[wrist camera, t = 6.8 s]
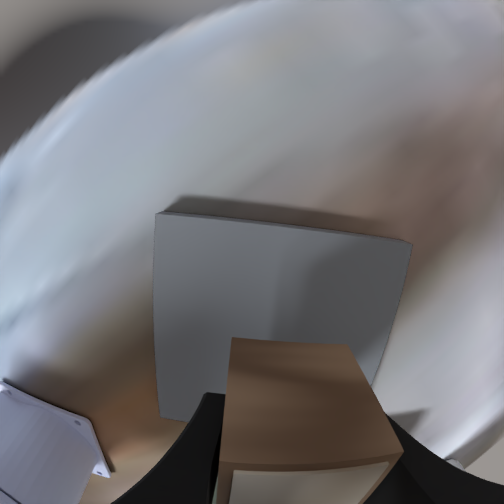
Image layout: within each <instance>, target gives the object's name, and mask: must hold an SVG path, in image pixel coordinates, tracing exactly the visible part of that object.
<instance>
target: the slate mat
mask: <svg viewBox="0 0 504 504" xmlns="http://www.w3.org/2000/svg"><path fill="white" fill-rule="evenodd" d="M412 246H413V245H412V244H410V243H408V242H405V241H403V240H398V239H391V238H385V237H378V236H371V235H364V234H357V233H350V232H343V231H335V230H328V229H320V228H313V227H305V226H297V225H289V224H281V223H272V222H264V221H255V220H246V219H237V218H227V217H218V216H208V215H197V214H187V213H176V212H165V211H162V212H159V213H157V214H155V231H154V258H153V323H154V349H155V366H156V380H157V392H158V402H159V412H160V417H161V418H166V419H172V420H178V421H184V422H189V421H190V420H191V418H192V416H193V415H194V413H195V411H196V410H197V408H198V406H199V404H200V402H201V399H202V397H203V394H205V393H206V392H211V393H220V394H226V387H227V377H228V367H229V358H230V348H231V339H232V337H237V338H247V339H258V340H271V341H284V342H301V343H322V344H348V346H349V348H350V350H351V351H352V353H353V355H354V357H355V359H356V361H357V362H358V364H359V366H360V368H361V370H362V371H363V373H364V375H365V377H366V379H367V381H368V383H369V384H370V386H371V384H372V381H373V379H374V376H375V374H376V371H377V368H378V366H379V363H380V360H381V358H382V355H383V352H384V349H385V346H386V343H387V340H388V337H389V334H390V331H391V328H392V325H393V321H394V318H395V315H396V311H397V308H398V304H399V301H400V297H401V293H402V290H403V286H404V282H405V278H406V274H407V269H408V265H409V260H410V256H411V251H412Z"/></svg>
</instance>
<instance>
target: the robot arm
mask: <svg viewBox="0 0 504 504" xmlns="http://www.w3.org/2000/svg"><path fill="white" fill-rule="evenodd" d="M0 391H1V392H0V504H79V501H80V499H81V497H82V494H83V492H84V490H85V487H86V485H87V483H88V481H89V478H90V476H91V474H92V473H95V474H98V475H100V476H103V477H106V478H110V477H111V472H110V470H109V468H108V465H107V463H106V461H105V458H104V456H103V453H102V451H101V448H100V446H99V443H98V440H97V438H96V435H95V432H94V429H93V426H92V424H91V422H90V421H89V420H88V419H87V418H85V417H82V416H79V415H76V414H74V413H71V412H68V411H66V410H63V409H60V408H58V407H55V406H53V405H51V404H48V403H46V402H43V401H41V400H39V399H37V398H34V397H32V396H30V395H28V394H26V393H24V392H22V391H20V390H18V389H16V388H14V387H12V386H10V385H8V384H6V383H4V382H2V381H0ZM225 397H226V394H220V393H211V392H206V393H205V394H203V397H202V399H201V402H200V404H199V406H198V408H197V410H196V411H195V413H194V415H193V416H192V418H191V420H190V421H189V423H188V424H187V426H186V427H185V429H184V430H183V432H182V433H181V435H180V436H179V437H178V439H177V440H176V441H175V443H174V444H173V445H172V446H171V448H170V449H169V450H168V451H167V452H166V454H165V455H164V456H163V457H162V458H161V460H160V461H159V462H158V463H157V464H156V465H155V466H154V467H153V468H152V469H151V470H150V471H149V472H148V473H147V474H146V475H145V476H144V477H143V478H142V479H141V480H140V481H139V482H137V483H136V484H135V485H134V486H133V487H132V488H130V489H129V490H128V491H127V492H126V493H124V494H123V495H122V496H120V497H119V498H118V499H116V500H115V501H114V502H112V503H111V504H212V501H213V496H214V491H215V487H216V482H217V477H218V471H219V459H220V448H221V437H222V427H223V417H224V407H225ZM384 413H385V412H384ZM385 415H386V417H387V418H388V420H389V422H390V424H391V426H392V428H393V430H394V432H395V434H396V436H397V438H398V440H399V442H400V444H401V446H402V448H403V450H404V452H403V454H402V455H401V457H400V458H399V459H398V461H397V462H396V464H395V465H394V466H393V468H392V469H391V470H390V471H389V473H388V474H387V475H386V477H385V478H384V479H383V480H382V482H381V483H380V484H379V485H378V487H377V488H376V489H375V490H374V491H373V492H372V494H371V495H370V496H369V497H368V498H367V499H366V500H365V502H364V503H363V504H504V485H500V484H497V483H493V482H490V481H487V480H484V479H481V478H479V477H476V476H474V475H472V474H469V473H467V472H465V471H463V470H461V469H459V468H457V467H455V466H453V465H452V464H450V463H448V462H447V461H445V460H443V459H442V458H440V457H439V456H437V455H435V454H434V453H433V452H431V451H430V450H428V449H427V448H426V447H424V446H423V445H422V444H420V443H419V442H418V441H417V440H415V439H414V438H413V437H412V436H411V435H409V434H408V433H407V432H406V431H405V430H404V429H402V428H401V427H400V426H399V425H398V424H397V423H396V422H395V421H393V420H392V419H391V418H390V417H389V416H388V415H387V414H386V413H385Z"/></svg>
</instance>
